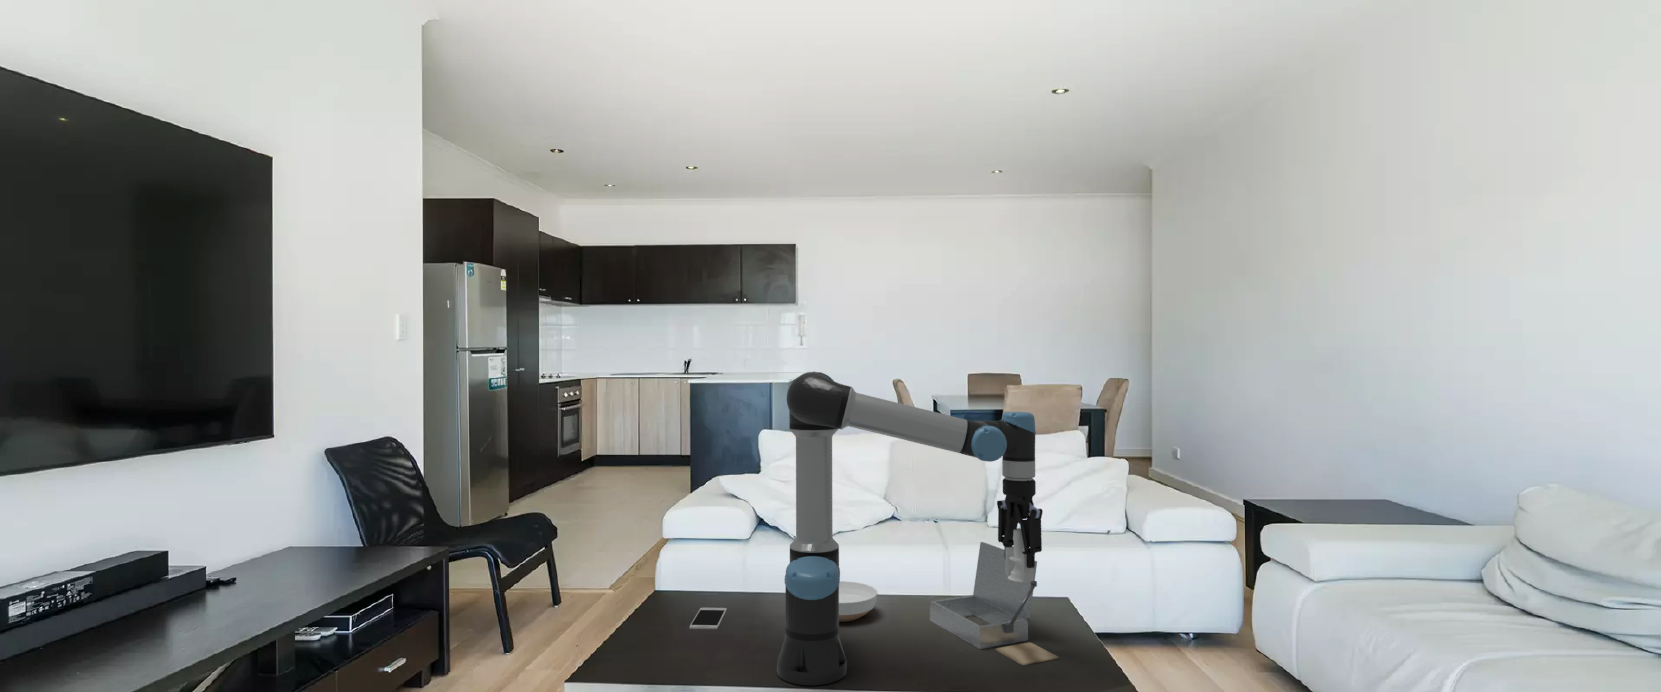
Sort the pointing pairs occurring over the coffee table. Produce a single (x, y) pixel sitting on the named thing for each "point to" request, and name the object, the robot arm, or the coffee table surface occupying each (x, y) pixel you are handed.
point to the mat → (1026, 653)
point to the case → (988, 605)
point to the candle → (1017, 556)
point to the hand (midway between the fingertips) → (1019, 577)
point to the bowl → (855, 600)
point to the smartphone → (708, 618)
